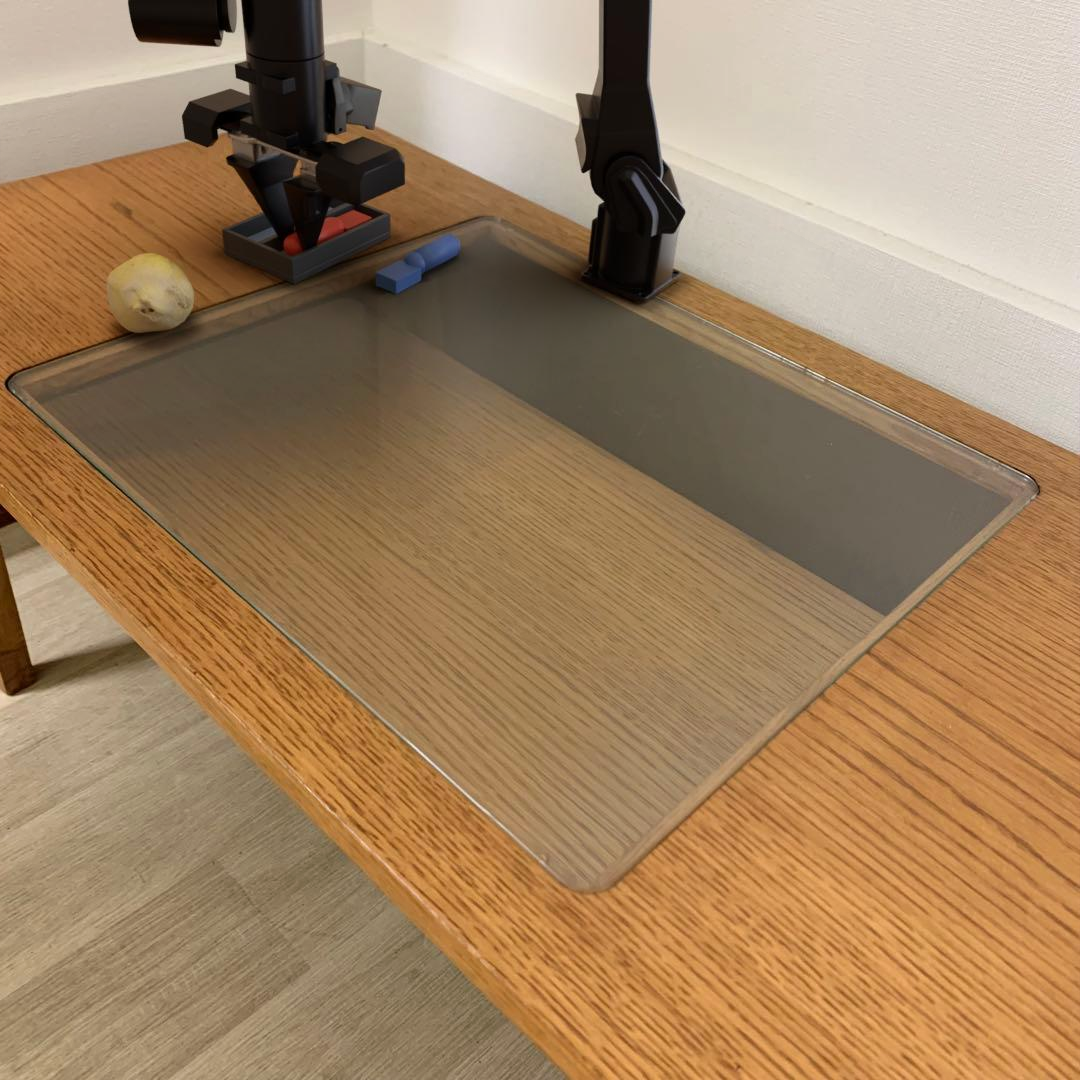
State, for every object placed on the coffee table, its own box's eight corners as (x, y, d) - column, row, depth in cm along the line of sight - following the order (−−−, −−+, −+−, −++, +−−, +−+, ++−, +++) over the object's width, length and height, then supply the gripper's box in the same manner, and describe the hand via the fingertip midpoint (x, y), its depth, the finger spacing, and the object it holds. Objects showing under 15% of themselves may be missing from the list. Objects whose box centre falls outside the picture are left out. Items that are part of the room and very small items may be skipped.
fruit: (191, 284, 91) (212, 328, 83) (120, 314, 90) (135, 361, 82) (158, 217, 87) (177, 257, 79) (84, 247, 86) (95, 291, 78)
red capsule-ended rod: (297, 265, 93) (296, 242, 91) (278, 257, 94) (276, 234, 92) (372, 229, 99) (372, 208, 97) (353, 222, 100) (352, 200, 98)
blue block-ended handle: (445, 248, 99) (446, 227, 97) (465, 256, 98) (466, 235, 97) (375, 285, 93) (375, 263, 91) (396, 294, 92) (396, 271, 91)
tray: (390, 237, 100) (390, 213, 98) (293, 284, 92) (292, 259, 90) (323, 210, 103) (322, 186, 101) (224, 253, 95) (221, 229, 94)
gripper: (452, 57, 85) (447, 249, 95) (272, 1, 92) (286, 185, 102) (351, 92, 78) (358, 296, 88) (165, 28, 85) (191, 223, 95)
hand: (298, 246), depth 93 cm, fingers closed
